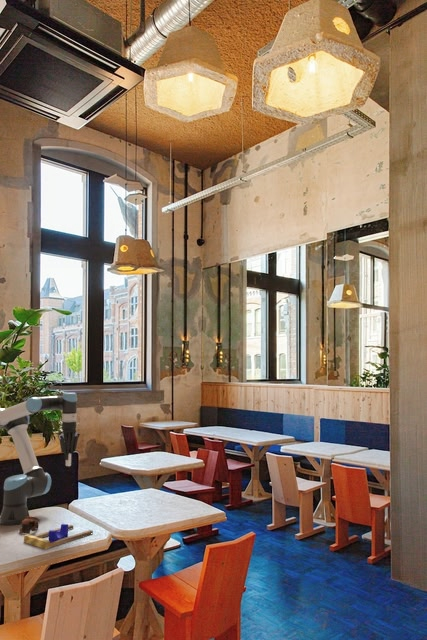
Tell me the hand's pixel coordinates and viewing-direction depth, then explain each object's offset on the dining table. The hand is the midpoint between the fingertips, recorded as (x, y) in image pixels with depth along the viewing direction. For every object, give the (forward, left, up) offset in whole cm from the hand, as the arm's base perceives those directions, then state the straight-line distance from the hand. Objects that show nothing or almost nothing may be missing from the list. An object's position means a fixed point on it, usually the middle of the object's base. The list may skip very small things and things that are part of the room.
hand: (68, 465), depth 274 cm
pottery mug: (-2, -21, -30) cm, 36 cm away
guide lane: (+18, -18, -29) cm, 39 cm away
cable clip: (+20, -21, -30) cm, 42 cm away
